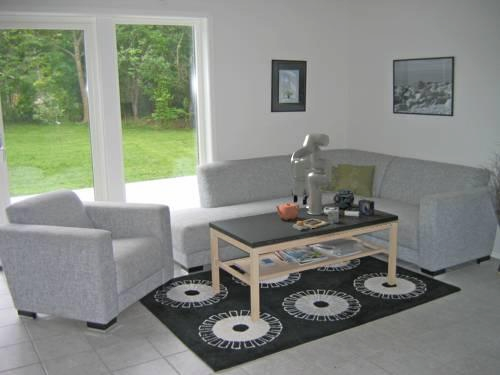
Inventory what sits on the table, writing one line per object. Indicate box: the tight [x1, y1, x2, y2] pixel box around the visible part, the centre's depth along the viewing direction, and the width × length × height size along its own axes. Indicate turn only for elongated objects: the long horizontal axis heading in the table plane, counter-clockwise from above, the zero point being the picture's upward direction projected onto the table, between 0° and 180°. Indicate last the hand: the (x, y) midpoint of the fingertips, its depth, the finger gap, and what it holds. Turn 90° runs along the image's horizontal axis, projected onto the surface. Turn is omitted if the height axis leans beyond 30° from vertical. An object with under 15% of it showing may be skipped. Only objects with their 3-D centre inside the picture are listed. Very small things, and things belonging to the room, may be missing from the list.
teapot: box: [275, 202, 300, 221], centre depth 388 cm, size 20×12×12 cm, turn 113°
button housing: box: [292, 223, 309, 231], centre depth 364 cm, size 7×7×3 cm
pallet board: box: [295, 217, 330, 230], centre depth 373 cm, size 16×17×2 cm
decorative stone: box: [333, 188, 355, 209], centre depth 413 cm, size 16×16×15 cm
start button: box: [296, 220, 304, 226], centre depth 363 cm, size 4×4×3 cm
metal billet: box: [327, 209, 339, 225], centre depth 377 cm, size 4×6×8 cm
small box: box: [357, 198, 375, 217], centre depth 393 cm, size 11×6×10 cm, turn 43°
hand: (300, 203), depth 360 cm, fingers open, 8 cm apart
